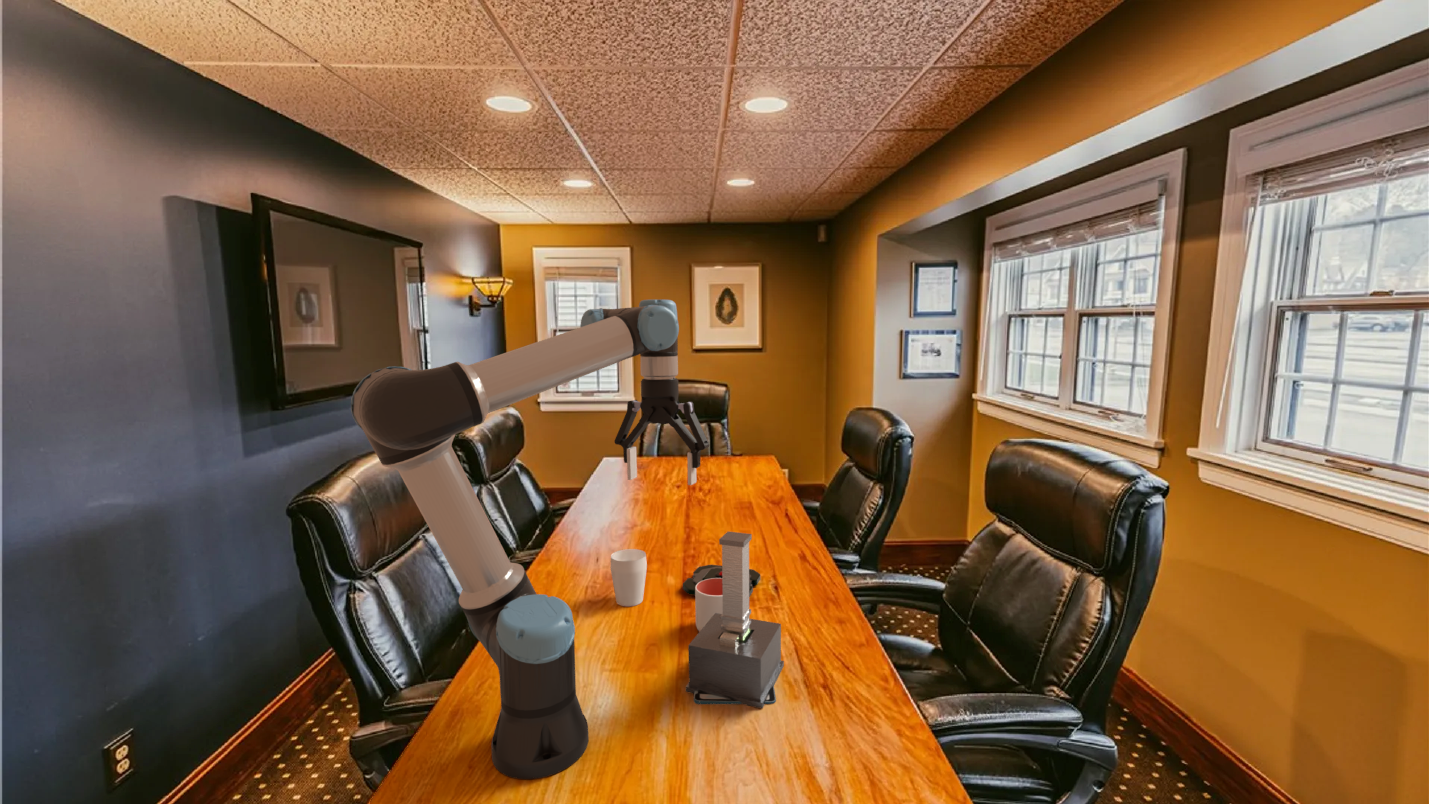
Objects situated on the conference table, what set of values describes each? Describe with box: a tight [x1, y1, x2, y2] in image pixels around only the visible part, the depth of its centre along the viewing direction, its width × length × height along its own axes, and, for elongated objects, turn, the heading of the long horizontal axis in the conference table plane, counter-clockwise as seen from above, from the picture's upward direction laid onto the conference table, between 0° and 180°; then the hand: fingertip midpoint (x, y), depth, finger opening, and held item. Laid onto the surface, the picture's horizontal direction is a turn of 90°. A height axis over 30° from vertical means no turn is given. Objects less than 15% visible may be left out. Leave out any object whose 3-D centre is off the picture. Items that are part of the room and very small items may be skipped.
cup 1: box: [610, 548, 648, 607], centre depth 151 cm, size 9×9×12 cm
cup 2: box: [694, 578, 723, 632], centre depth 137 cm, size 10×10×10 cm
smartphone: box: [693, 685, 777, 705], centre depth 113 cm, size 7×1×15 cm
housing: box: [685, 613, 785, 709], centre depth 117 cm, size 15×15×10 cm
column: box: [718, 531, 752, 644], centre depth 115 cm, size 5×5×21 cm
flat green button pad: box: [682, 564, 761, 598], centre depth 160 cm, size 18×18×5 cm
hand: (661, 481), depth 124 cm, fingers open, 13 cm apart
